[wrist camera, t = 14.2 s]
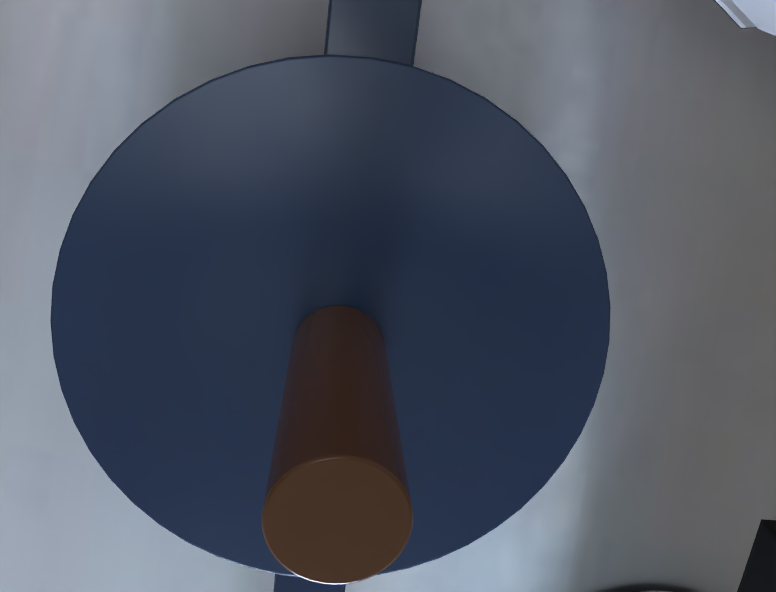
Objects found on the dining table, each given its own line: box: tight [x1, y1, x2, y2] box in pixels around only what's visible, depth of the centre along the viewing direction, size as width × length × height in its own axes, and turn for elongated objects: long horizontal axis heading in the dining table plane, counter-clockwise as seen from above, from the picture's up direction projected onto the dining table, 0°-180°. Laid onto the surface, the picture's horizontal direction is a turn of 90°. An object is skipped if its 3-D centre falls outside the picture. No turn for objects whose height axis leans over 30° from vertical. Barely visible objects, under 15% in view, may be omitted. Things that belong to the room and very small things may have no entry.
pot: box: [274, 0, 422, 592], centre depth 25 cm, size 15×20×10 cm
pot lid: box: [51, 55, 610, 585], centre depth 16 cm, size 16×16×9 cm
